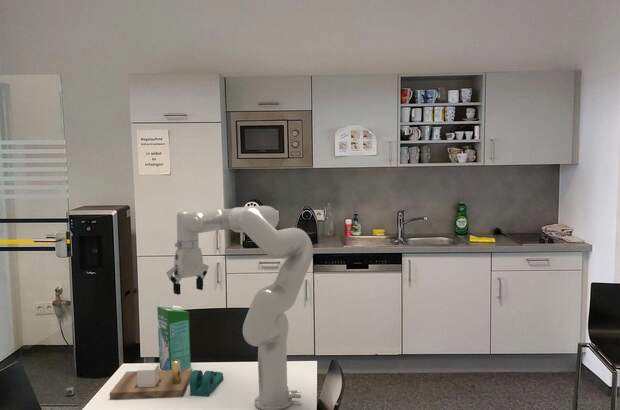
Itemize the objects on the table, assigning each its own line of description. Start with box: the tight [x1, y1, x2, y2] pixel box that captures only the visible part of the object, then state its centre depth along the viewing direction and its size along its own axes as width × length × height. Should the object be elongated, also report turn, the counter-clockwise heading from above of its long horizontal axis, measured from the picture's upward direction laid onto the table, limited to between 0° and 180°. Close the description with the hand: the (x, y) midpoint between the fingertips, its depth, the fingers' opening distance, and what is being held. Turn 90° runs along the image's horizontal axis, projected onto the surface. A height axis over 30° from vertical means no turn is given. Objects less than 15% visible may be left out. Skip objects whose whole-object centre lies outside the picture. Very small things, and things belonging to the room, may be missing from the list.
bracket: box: [189, 369, 224, 398], centre depth 198 cm, size 18×7×8 cm, turn 169°
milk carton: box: [156, 305, 192, 370], centre depth 217 cm, size 9×9×25 cm
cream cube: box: [136, 363, 159, 387], centre depth 195 cm, size 6×6×6 cm
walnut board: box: [109, 368, 194, 401], centre depth 198 cm, size 25×20×2 cm
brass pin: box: [172, 359, 181, 384], centre depth 195 cm, size 3×3×8 cm
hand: (188, 291), depth 197 cm, fingers open, 9 cm apart
